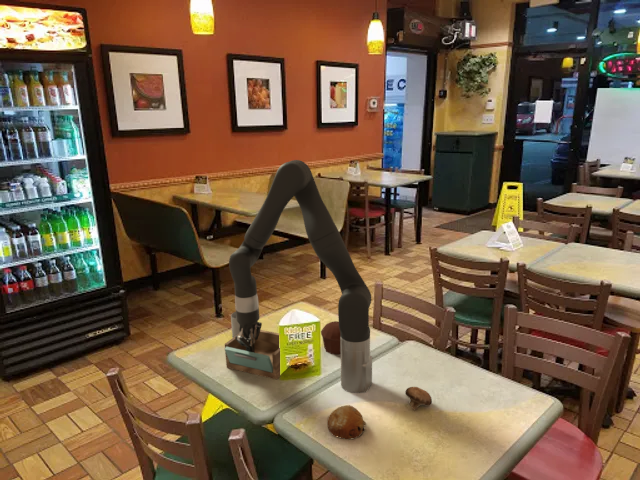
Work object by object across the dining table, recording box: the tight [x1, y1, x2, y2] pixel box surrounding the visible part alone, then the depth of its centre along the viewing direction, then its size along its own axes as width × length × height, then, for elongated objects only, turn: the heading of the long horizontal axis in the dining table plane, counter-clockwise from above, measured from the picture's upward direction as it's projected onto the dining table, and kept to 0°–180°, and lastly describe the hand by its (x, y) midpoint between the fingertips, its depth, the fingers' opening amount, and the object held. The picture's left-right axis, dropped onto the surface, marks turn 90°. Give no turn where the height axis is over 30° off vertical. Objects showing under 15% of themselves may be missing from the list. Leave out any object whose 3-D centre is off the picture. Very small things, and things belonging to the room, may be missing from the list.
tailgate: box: [224, 347, 273, 372], centre depth 157 cm, size 17×2×7 cm, turn 65°
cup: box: [230, 311, 240, 339], centre depth 184 cm, size 8×8×10 cm
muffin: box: [320, 320, 341, 355], centre depth 174 cm, size 12×11×10 cm
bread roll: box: [327, 404, 367, 440], centre depth 131 cm, size 10×10×8 cm
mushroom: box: [404, 386, 433, 411], centre depth 140 cm, size 8×8×6 cm
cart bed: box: [224, 329, 281, 380], centre depth 165 cm, size 20×14×9 cm
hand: (250, 354), depth 159 cm, fingers closed
